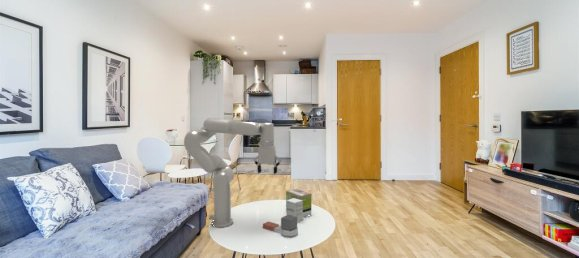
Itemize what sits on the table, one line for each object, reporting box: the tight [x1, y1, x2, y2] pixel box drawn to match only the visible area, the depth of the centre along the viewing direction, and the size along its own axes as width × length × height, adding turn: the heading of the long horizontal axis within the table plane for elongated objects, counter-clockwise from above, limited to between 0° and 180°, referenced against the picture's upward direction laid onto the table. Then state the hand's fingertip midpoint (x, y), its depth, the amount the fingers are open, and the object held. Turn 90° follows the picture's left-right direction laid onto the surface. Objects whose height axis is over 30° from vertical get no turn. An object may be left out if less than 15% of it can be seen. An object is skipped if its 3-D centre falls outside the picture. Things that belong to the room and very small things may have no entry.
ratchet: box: [262, 221, 299, 239], centre depth 145 cm, size 22×9×6 cm, turn 54°
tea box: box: [285, 188, 312, 218], centre depth 172 cm, size 15×10×15 cm, turn 38°
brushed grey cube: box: [280, 214, 298, 232], centre depth 141 cm, size 6×6×6 cm
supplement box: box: [285, 198, 304, 223], centre depth 160 cm, size 7×7×13 cm
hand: (267, 173), depth 154 cm, fingers open, 9 cm apart
